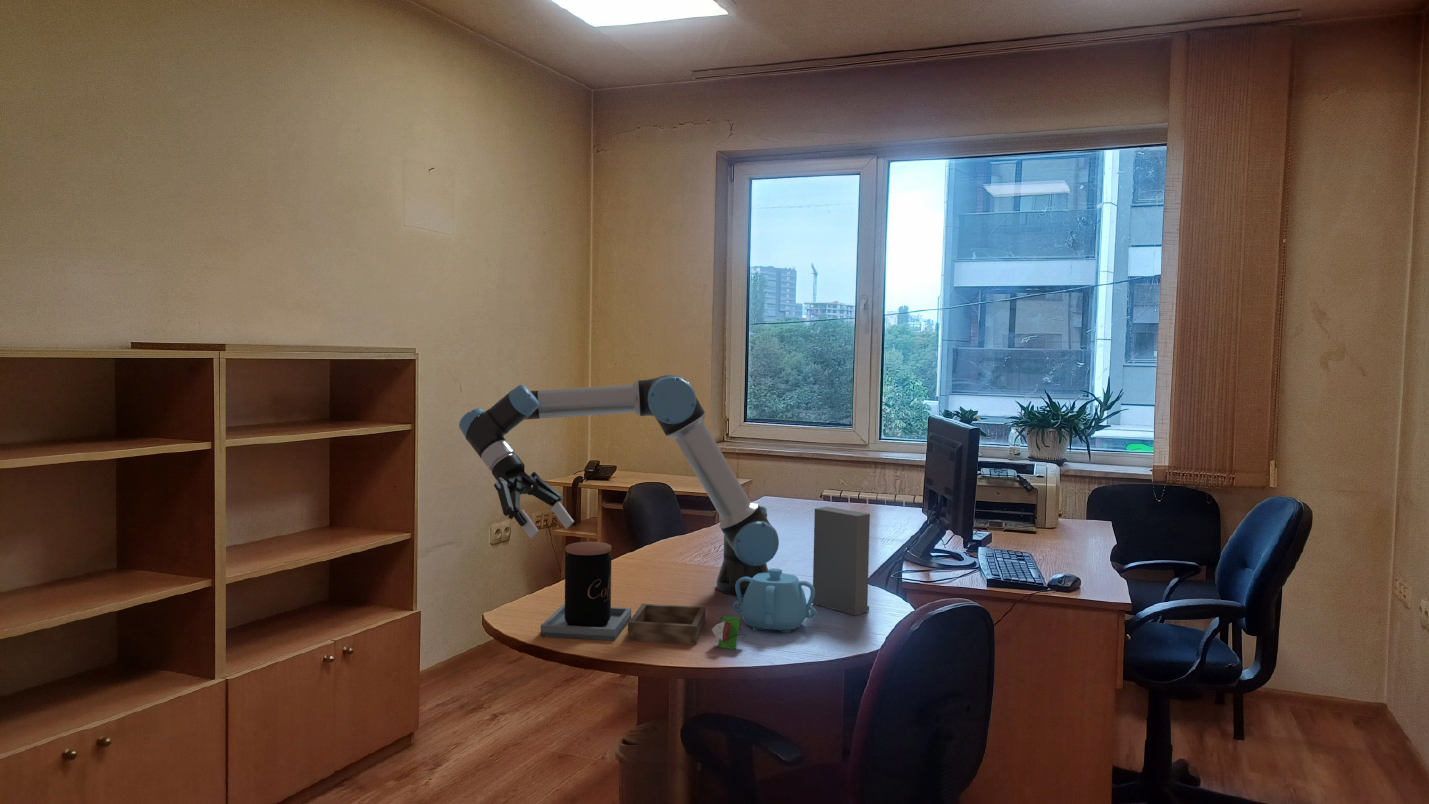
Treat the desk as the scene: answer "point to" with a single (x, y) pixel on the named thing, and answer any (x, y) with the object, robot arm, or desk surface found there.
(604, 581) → the coffee jar
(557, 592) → the desk surface
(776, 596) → the decorative pot
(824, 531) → the upright grey slab box
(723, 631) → the geometric puzzle
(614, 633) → the grey tray
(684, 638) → the walnut collar
